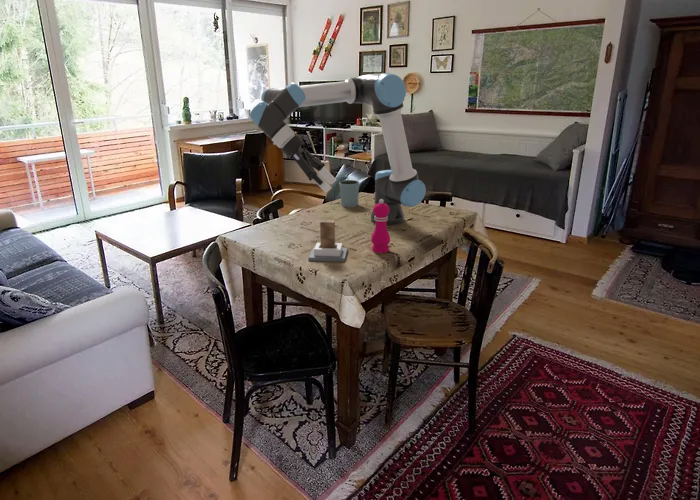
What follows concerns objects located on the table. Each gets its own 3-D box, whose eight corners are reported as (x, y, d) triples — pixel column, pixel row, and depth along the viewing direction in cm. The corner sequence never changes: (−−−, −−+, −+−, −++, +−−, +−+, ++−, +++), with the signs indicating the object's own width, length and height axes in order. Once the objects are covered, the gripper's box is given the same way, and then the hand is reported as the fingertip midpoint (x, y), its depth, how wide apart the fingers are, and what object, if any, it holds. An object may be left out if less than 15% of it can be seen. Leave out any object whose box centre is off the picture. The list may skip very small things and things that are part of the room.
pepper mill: (369, 247, 180) (370, 196, 173) (388, 246, 181) (389, 196, 174) (372, 254, 173) (372, 201, 166) (391, 253, 174) (392, 201, 167)
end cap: (347, 250, 177) (347, 241, 176) (344, 261, 167) (344, 251, 165) (313, 249, 178) (313, 240, 177) (308, 260, 168) (308, 251, 166)
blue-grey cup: (363, 204, 240) (363, 181, 235) (350, 208, 233) (350, 185, 228) (348, 201, 246) (348, 179, 242) (335, 205, 239) (334, 182, 235)
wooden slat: (335, 251, 173) (334, 220, 169) (334, 253, 170) (333, 222, 166) (322, 251, 173) (321, 220, 169) (321, 253, 171) (320, 222, 167)
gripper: (288, 144, 173) (328, 186, 177) (272, 154, 149) (318, 201, 153) (302, 130, 171) (342, 172, 175) (287, 138, 147) (334, 186, 151)
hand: (331, 186), depth 164 cm, fingers open, 13 cm apart
